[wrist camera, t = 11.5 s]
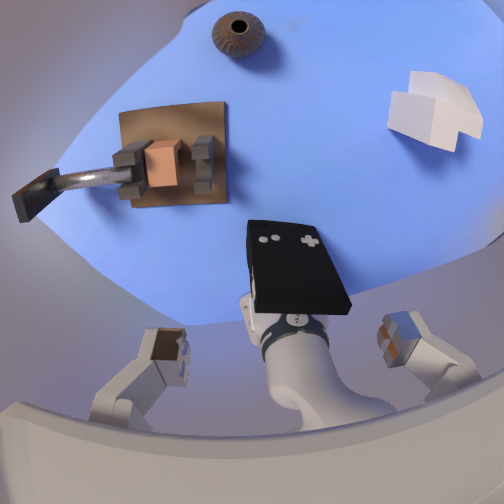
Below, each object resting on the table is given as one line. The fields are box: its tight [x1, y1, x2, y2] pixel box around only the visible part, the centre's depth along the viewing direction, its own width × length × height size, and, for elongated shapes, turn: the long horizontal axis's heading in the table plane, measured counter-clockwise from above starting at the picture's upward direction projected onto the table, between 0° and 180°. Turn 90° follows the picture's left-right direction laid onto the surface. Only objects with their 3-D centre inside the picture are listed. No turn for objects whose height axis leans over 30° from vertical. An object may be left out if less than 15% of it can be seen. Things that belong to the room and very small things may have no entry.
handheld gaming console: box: [246, 220, 352, 315], centre depth 41 cm, size 12×5×20 cm, turn 82°
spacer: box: [145, 139, 183, 187], centre depth 37 cm, size 5×4×6 cm
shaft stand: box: [112, 102, 227, 208], centre depth 36 cm, size 16×16×10 cm
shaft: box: [12, 165, 135, 223], centre depth 31 cm, size 4×15×10 cm, turn 90°
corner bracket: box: [387, 71, 483, 152], centre depth 32 cm, size 11×11×12 cm
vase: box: [212, 11, 265, 57], centre depth 27 cm, size 7×7×9 cm
